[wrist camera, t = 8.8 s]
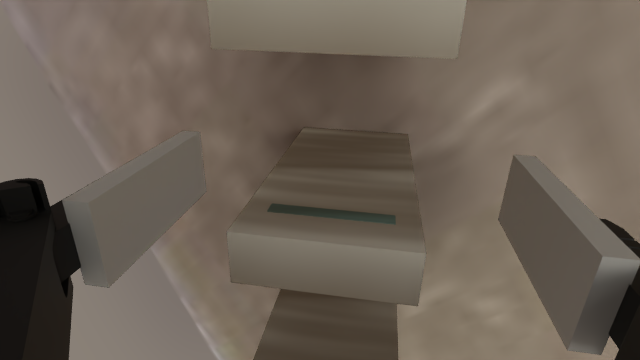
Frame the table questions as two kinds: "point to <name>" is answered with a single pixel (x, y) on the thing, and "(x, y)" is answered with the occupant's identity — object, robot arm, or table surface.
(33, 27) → the table surface
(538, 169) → the robot arm
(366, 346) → the domino
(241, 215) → the domino
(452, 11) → the domino
